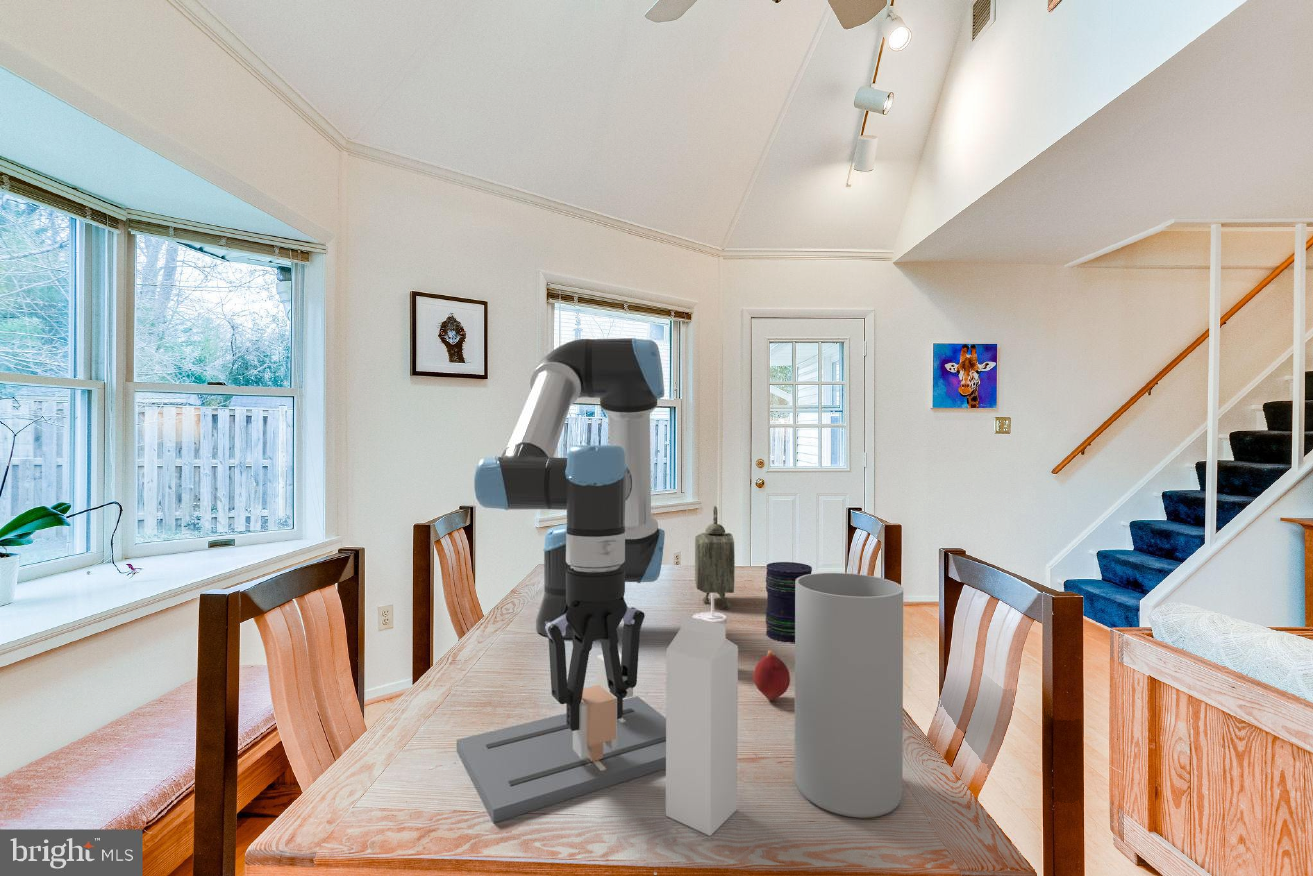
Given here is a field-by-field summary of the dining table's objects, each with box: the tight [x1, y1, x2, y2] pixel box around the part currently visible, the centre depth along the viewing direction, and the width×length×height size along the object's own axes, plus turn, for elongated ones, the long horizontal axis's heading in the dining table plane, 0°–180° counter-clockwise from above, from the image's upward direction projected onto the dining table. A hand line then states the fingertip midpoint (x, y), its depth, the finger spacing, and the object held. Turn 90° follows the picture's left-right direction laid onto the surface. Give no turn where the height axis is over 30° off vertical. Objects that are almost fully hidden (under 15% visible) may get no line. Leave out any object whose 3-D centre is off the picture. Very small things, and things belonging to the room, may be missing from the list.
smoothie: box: [692, 593, 728, 626], centre depth 113 cm, size 6×6×14 cm
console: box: [456, 695, 666, 824], centre depth 82 cm, size 18×28×2 cm, turn 121°
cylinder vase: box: [793, 572, 904, 819], centre depth 74 cm, size 12×12×25 cm
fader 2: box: [582, 684, 616, 761], centre depth 78 cm, size 5×4×8 cm
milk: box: [665, 615, 739, 837], centre depth 70 cm, size 6×6×22 cm
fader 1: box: [596, 652, 634, 700], centre depth 91 cm, size 5×4×8 cm
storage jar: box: [765, 561, 813, 644], centre depth 132 cm, size 10×10×15 cm
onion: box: [753, 650, 791, 701], centre depth 100 cm, size 6×6×8 cm
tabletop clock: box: [694, 505, 736, 610], centre depth 158 cm, size 14×9×25 cm, turn 179°
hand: (594, 748), depth 78 cm, fingers closed on fader 2, 3 cm apart
